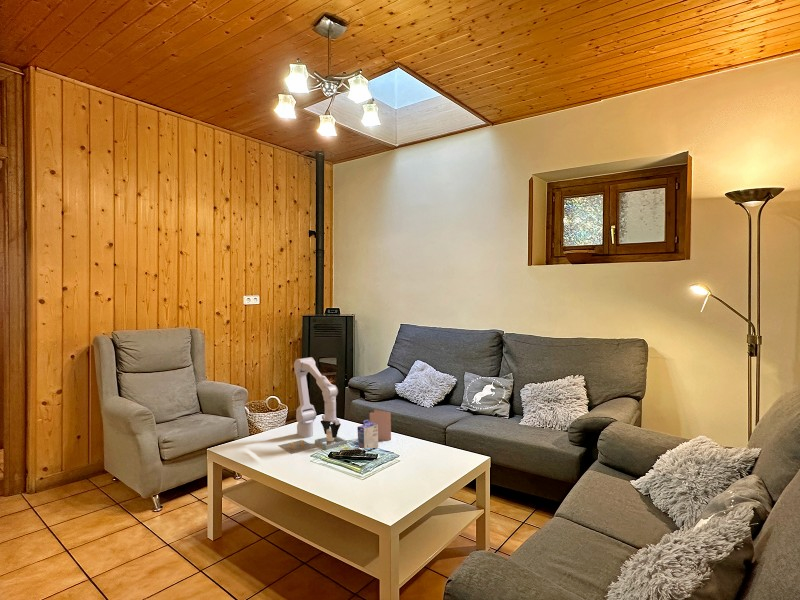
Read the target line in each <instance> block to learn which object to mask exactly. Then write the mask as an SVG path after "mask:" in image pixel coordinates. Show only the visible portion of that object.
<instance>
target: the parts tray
mask: <svg viewBox="0 0 800 600" xmlns="http://www.w3.org/2000/svg"><path fill="white" fill-rule="evenodd" d="M334 441H336V442H334V443H333V444H329V445H327V442H326V437H325V436H324V437H321V438H317V439H314V445H317V446H318V447H320V448H322V449H323V450H326V451H327V450H331V449H335V448H338V447H337V446H339V445H343V446H345V445H344V444H347V445H348V440H347V439H344V438H343V437H339V436H338V435H337V437H335V438H334ZM339 447H340V446H339Z"/></svg>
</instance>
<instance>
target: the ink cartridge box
mask: <svg viewBox="0 0 800 600" xmlns="http://www.w3.org/2000/svg"><path fill="white" fill-rule="evenodd" d="M362 422H363V424H362V425H359V426H357V447H360V448H364V449H366V448H375V449H378V448H379V440H378V424H375V423H370V419H365V420H364V419H363V421H362Z"/></svg>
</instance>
